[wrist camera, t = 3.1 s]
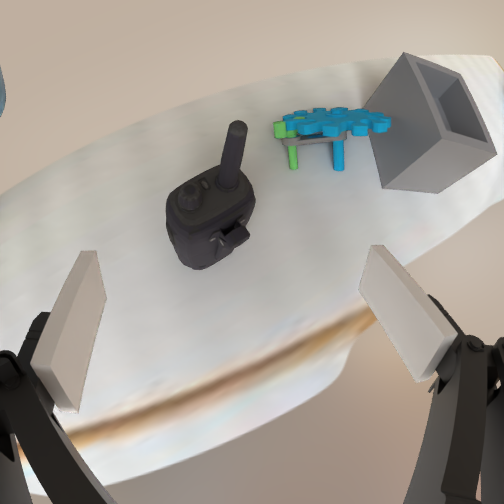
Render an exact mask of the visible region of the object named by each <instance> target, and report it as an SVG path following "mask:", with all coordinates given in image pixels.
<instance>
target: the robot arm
mask: <svg viewBox="0 0 504 504" xmlns="http://www.w3.org/2000/svg"><path fill="white" fill-rule="evenodd" d="M5 92H6V91H5V84H4V80H3V75H2V72H1V67H0V117H1V115H2V113H3V110H4V106H5V101H6V93H5ZM358 290H359V291H360V293H361V294H362V296H363V297H364V299H365V301H366V302H367V304H368V305H369V307H370V308H371V310H372V311H373V313H374V315H375V316H376V318H377V319H378V321H379V322H380V324H381V326H382V327H383V329H384V331H385V332H386V334H387V335H388V337H389V339H390V340H391V342H392V344H393V345H394V347H395V349H396V350H397V352H398V354H399V355H400V357H401V359H402V360H403V362H404V363H405V365H406V367H407V369H408V370H409V372H410V374H411V376H412V377H413V379H414V381H415V382H416V383H419V382H422V381H425V380H429V379H430V377H431V376H432V374H433V373H434V372H435V370H436V371H437V373H438V375H439V376H438V377H437V379H436V380H435V381H434V383H433V384H432V386H431V387H430V389H429V391H428V392H429V393H430V392H431V391H432V389H433V388H434V392H433V398H432V403H431V408H430V413H429V418H428V422H427V426H426V430H425V434H424V438H423V442H422V446H421V450H420V453H419V457H418V460H417V464H416V467H415V470H414V473H413V476H412V479H411V483H410V485H409V488H408V491H407V494H406V497H405V500H404V503H403V504H504V337H501V338H499V339H498V340H497V342H496V343H495V345H494V346H492V345H485V344H484V343H483V341H481V340H480V339H479V338H477V337H475V336H473V335H465V334H464V333H463V331H462V330H461V329H460V327H459V326H458V325H457V324H456V322H455V321H454V320H453V319H452V318H451V316H450V315H449V314H448V313H447V311H446V310H444V308H443V307H442V305H441V304H440V303H439V302H438V301H437V300H436V299H435V298H433V297H432V296H431V295H427V294H426V293H425V292H424V291H423V290H422V288H421V287H420V286H419V285H418V284H417V282H416V281H415V280H414V279H413V278H412V277H411V276H410V274H409V273H408V272H407V271H406V270H405V269H404V268H403V266H402V265H401V264H400V263H399V262H398V261H397V260H396V259H395V257H394V256H393V255H392V254H391V253H390V252H389V251H388V250H387V249H386V248H385V246H384V245H371V247H370V251H369V255H368V258H367V262H366V265H365V268H364V272H363V275H362V279H361V282H360V285H359V288H358ZM106 300H107V297H106V293H105V289H104V285H103V280H102V276H101V271H100V267H99V262H98V257H97V252H96V251H81V252H80V254H79V256H78V258H77V260H76V262H75V264H74V266H73V268H72V270H71V271H70V273H69V275H68V277H67V279H66V281H65V283H64V285H63V288H62V290H61V292H60V294H59V296H58V298H57V300H56V302H55V304H54V307H53V309H52V311H51V312H41V313H40V314H39V315H38V316H37V317H36V318H35V319H34V320H33V322H32V324H31V326H30V329H29V332H28V333H27V335H26V340H24V342H23V344H22V347H21V349H20V351H19V354H18V356H17V357H16V355H15V354H14V353H13V352H11V351H9V350H3V351H0V504H33V503H32V499H31V496H30V493H29V490H28V487H27V483H26V480H25V476H24V473H23V469H22V465H21V461H20V457H19V453H18V448H17V443H16V439H15V435H16V437H17V439H18V441H19V443H20V446H21V448H22V450H23V452H24V454H25V456H26V458H27V460H28V462H29V463H30V465H31V467H32V469H33V471H34V473H35V475H36V476H37V478H38V480H39V482H40V483H41V485H42V487H43V488H44V490H45V492H46V493H47V495H48V497H49V498H50V500H51V501H52V503H53V504H117V503H116V502H115V501H114V499H113V498H112V497H111V496H110V495H109V493H108V492H107V491H106V490H105V488H104V487H103V486H102V484H101V483H100V482H99V481H98V479H97V478H96V477H95V475H94V474H93V473H92V471H91V470H90V468H89V467H88V466H87V464H86V463H85V462H84V460H83V459H82V457H81V456H80V454H79V453H78V451H77V450H76V448H75V447H74V445H73V444H72V442H71V441H70V439H69V438H68V436H67V434H66V433H65V431H64V430H63V428H62V426H61V425H60V423H59V421H58V420H57V418H56V416H55V415H54V413H53V408H54V404H56V406H57V407H58V409H59V410H60V411H61V412H68V413H77V414H79V408H80V403H81V398H82V393H83V388H84V384H85V379H86V375H87V370H88V366H89V362H90V358H91V354H92V350H93V346H94V342H95V338H96V335H97V331H98V327H99V324H100V320H101V317H102V313H103V310H104V306H105V303H106ZM499 380H500V382H501V386H500V387H499V388H498V389H497V386H496V384H497V382H498V381H499ZM480 472H481V502H480V501H478V500H476V490H477V485H478V480H479V474H480Z"/></svg>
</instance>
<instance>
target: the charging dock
mask: <svg viewBox="0 0 504 504" xmlns="http://www.w3.org/2000/svg"><path fill="white" fill-rule="evenodd" d="M363 109H366V110H369V112H381V113H383V114H384V116H386V117H391V127H390V128H387V132H383V133H375V132H373V131H372V129H368V133H369V137H370V140H371V144H372V148H373V152H374V156H375V159H376V163H377V168H378V172H379V176H380V180H381V185H382V189H395V190H406V191H417V192H427V193H437V194H438V193H440V192H441V191H443V190H444V189H446V188H447V187H449V186H451V185H452V184H454V183H455V182H457V181H458V180H460V179H461V178H463V177H464V176H466V175H467V174H469V173H470V172H472V171H473V170H475V169H476V168H478V167H479V166H481V165H482V164H484V163H485V162H487V161H488V160H490V159H491V158H493V157H494V156H496V155H497V152H496V150H495V147H494V144H493V142H492V139H491V137H490V134H489V132H488V130H487V127H486V125H485V123H484V120H483V118H482V116H481V114H480V112H479V109H478V107H477V105H476V103H475V101H474V99H473V97H472V95H471V93H470V91H469V89H468V87H467V85H466V83H465V81H464V80H463V78H462V76H461V74H459V73H457V72H455V71H452V70H450V69H448V68H445V67H443V66H440V65H438V64H435V63H433V62H430V61H427V60H425V59H422V58H419V57H416V56H413V55H411V54H408V53H405V52H403V54H402V55H401V56H400V58H399V59H398V60H397V62H396V63H395V65H394V66H393V67H392V69H391V70H390V72H389V73H388V74H387V76H386V77H385V78H384V80H383V81H382V83H381V84H380V85H379V87H378V88H377V89H376V91H375V92H374V94H373V95H372V96H371V98H370V99H369V101H368V102H367V103H366V105H365V106H364V107H363Z"/></svg>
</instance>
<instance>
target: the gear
mask: <svg viewBox="0 0 504 504" xmlns="http://www.w3.org/2000/svg"><path fill="white" fill-rule="evenodd" d="M273 126H274V135H275V138H282V143H283V145H284V146H288V153H289V164H290V169H292V170H295V169H298V163H297V151H296V146H297V145H305V144H313V143H321V142H330V141H333V160H334V170H336V171H343V170H344V140H346V139H347V133H346V131H347V130H352V135H353V136H368V129H372V131H373V132H375V133H383V132H387V128H390V127H391V117H386V116H384V114H383V113H381V112H369V110H366V109H356V110H348V108H342V107H337V108H333V109H331V111H326V108H314V109H313V113H307V111H305V110H302V111H295V112H294V114H289V115H285V116H283V121H278V122H274V123H273ZM320 131H323V133H322V134H313V133H315V132H320ZM296 133H299V134H302V135H304V136H300V135H298V134H296ZM309 134H313V135H309Z"/></svg>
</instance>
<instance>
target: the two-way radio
mask: <svg viewBox="0 0 504 504" xmlns="http://www.w3.org/2000/svg"><path fill="white" fill-rule="evenodd" d="M247 131H248V128H247V125H246V124H245V123H244V122H243V121H240V120H237V121H234V122H232V123H231V124H230V125H229V129H228V133H227V137H226V141H225V145H224V149H223V153H222V158H221V164H220V165H218V166H215V167H213V168H211V169H209V170H207V171H205V172H203V173H201V174H199V175H197V176H196V177H194V178H192V179H190V180H188V181H187V182H185V183H183V184H182V185H180V186H179V187H177V188H176V189H175V190H173V191H172V192H171V193H170V194H169V196H168V198H167V202H166V227H167V231H168V235H169V238H170V241H171V242H172V244H173V246H174V248H175V251H176V253H177V255H178V257H179V259H180V261H181V262H182V263H183V264H184V265H186V266H188V267H191V268H192V269H195V270H201V269H205V268H208V267H209V266H211V265H213V264H215V263H216V262H218V261H220V260H221V259H223V258H224V257H226V256H227V255H229V254H230V253H232V251H233V249H234V248H236V247H237V246H239V245H241V244H242V243H244V242H245V241H246V240H248V239H249V237H250V233H249V232H248V230H247V229H246V225H247V223H248V221H249V219H250V217H251V214H252V212H253V209H254V206H255V201H256V199H255V196H254V192H253V188H252V185H251V183H250V182H249V180H248V179H247V177H246V176H245V175H244V173H243V172H242V171H241V170H240V166H241V161H242V157H243V152H244V147H245V141H246V136H247Z"/></svg>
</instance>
